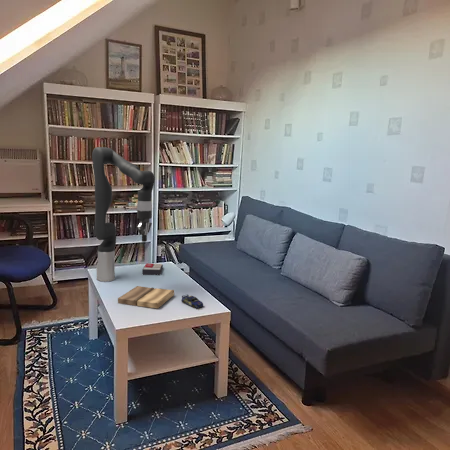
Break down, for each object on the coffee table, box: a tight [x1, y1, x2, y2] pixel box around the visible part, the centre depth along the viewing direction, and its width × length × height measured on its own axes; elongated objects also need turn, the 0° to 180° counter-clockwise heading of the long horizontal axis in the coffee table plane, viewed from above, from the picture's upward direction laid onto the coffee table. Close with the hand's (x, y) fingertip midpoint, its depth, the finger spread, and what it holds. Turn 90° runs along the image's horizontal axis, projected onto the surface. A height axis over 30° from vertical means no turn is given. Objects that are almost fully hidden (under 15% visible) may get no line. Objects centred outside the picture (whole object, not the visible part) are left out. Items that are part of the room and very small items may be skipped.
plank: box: [136, 287, 175, 309], centre depth 201 cm, size 11×20×3 cm, turn 164°
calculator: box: [141, 262, 164, 276], centre depth 250 cm, size 11×4×15 cm
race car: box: [180, 294, 204, 311], centre depth 198 cm, size 15×7×4 cm, turn 51°
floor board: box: [117, 285, 155, 307], centre depth 204 cm, size 10×20×3 cm, turn 164°
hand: (144, 241), depth 212 cm, fingers closed
